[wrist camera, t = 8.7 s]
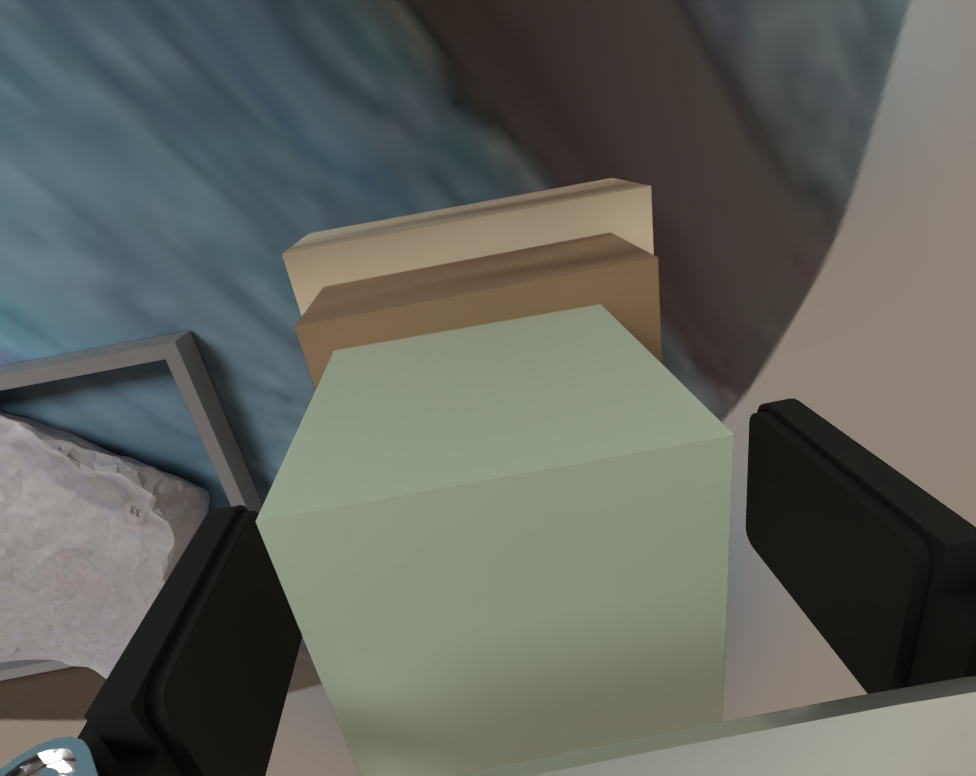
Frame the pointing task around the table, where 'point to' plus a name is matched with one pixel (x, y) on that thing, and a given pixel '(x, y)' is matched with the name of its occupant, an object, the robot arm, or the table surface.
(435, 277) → the walnut block
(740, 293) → the table surface
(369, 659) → the green cube
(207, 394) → the tray rim
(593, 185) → the beech block
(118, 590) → the stone block
